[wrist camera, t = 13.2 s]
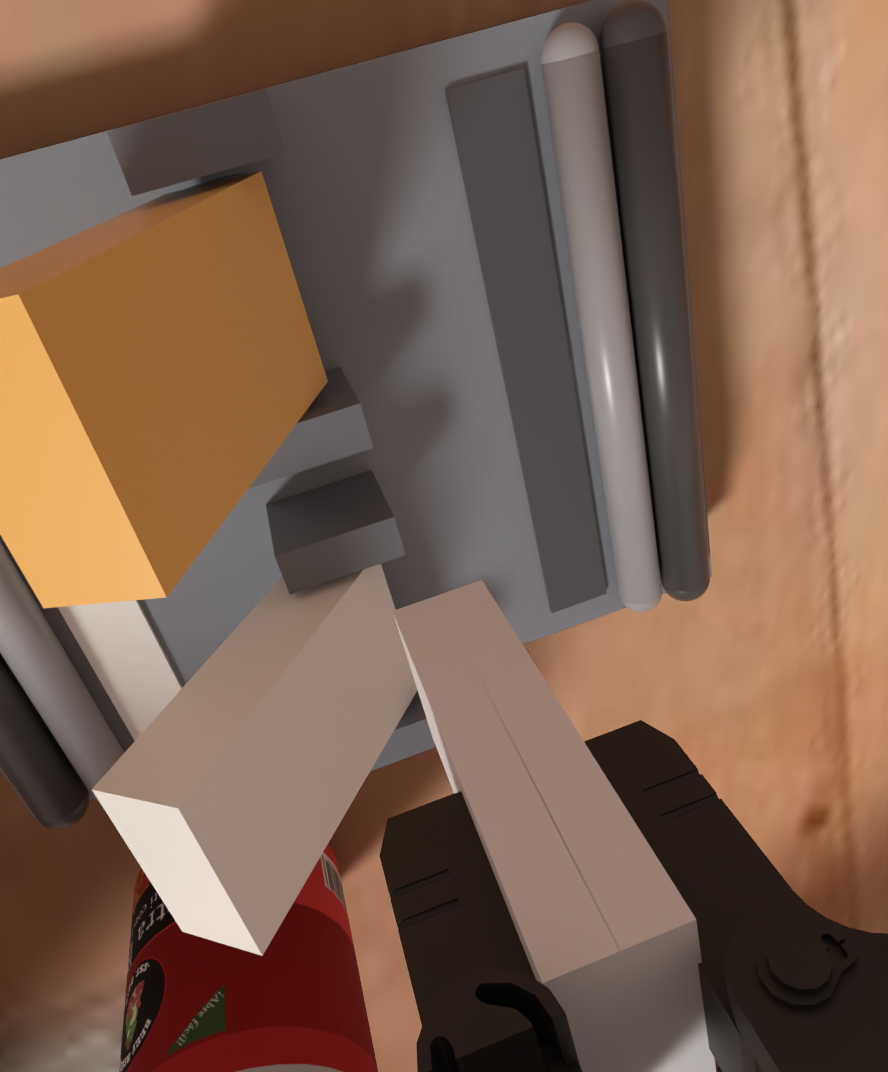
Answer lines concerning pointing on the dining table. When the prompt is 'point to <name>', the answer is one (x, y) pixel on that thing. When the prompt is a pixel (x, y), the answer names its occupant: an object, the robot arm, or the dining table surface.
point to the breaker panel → (410, 362)
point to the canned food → (247, 991)
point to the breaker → (262, 756)
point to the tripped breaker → (146, 388)
